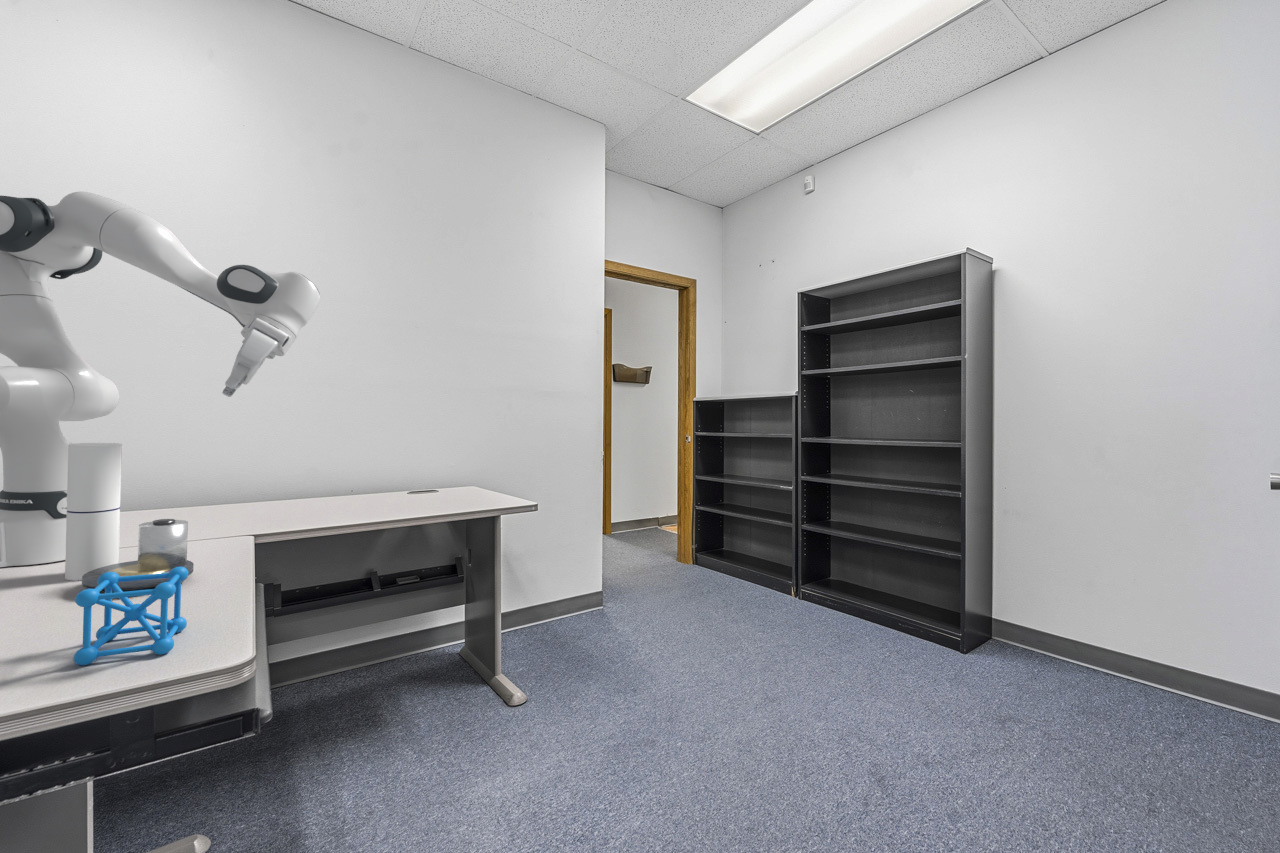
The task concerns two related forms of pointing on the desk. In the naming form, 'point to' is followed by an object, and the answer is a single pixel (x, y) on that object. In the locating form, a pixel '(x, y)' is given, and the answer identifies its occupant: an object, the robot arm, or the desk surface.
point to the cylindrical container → (92, 507)
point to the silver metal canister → (162, 544)
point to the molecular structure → (131, 614)
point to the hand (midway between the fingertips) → (227, 391)
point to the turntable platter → (128, 570)
